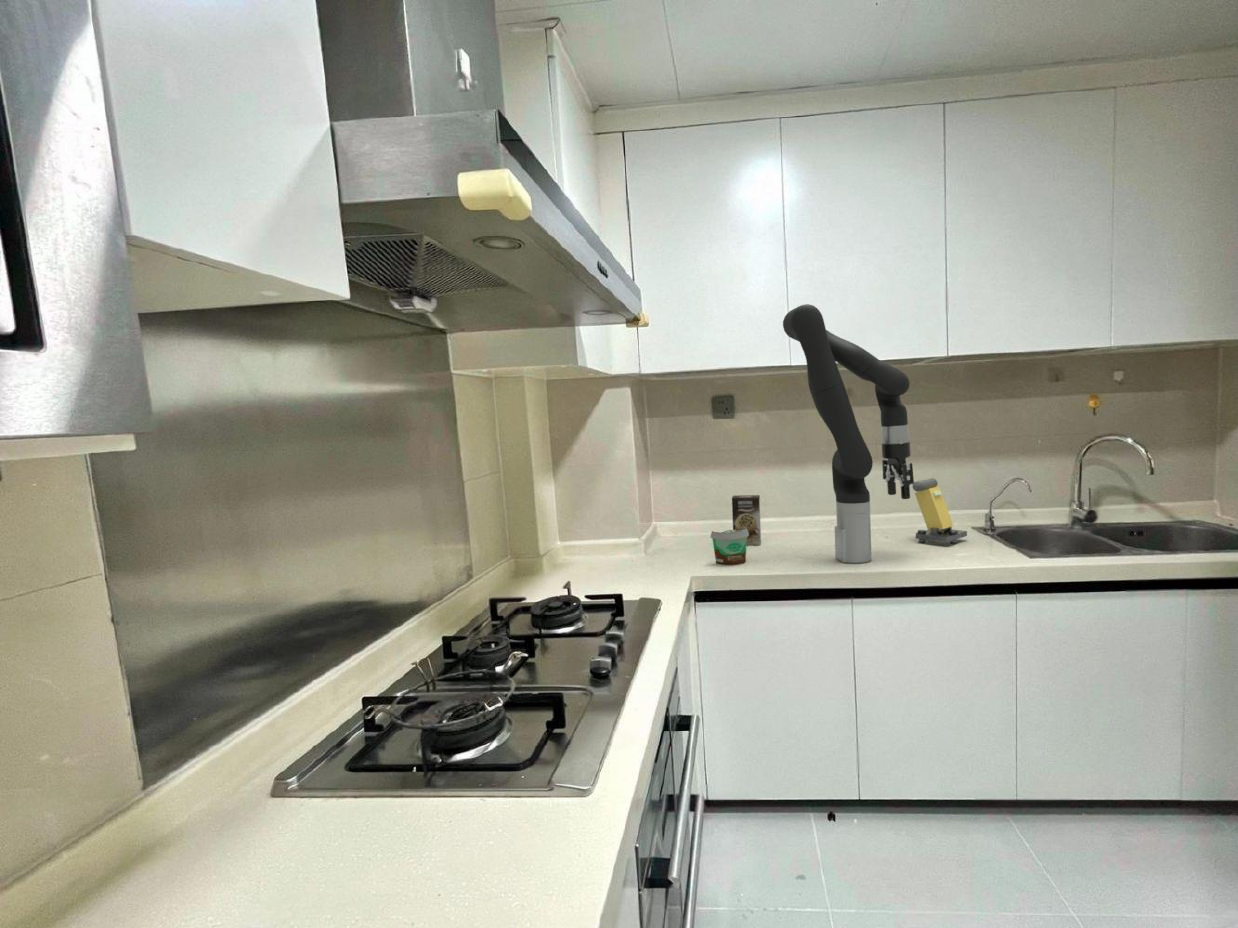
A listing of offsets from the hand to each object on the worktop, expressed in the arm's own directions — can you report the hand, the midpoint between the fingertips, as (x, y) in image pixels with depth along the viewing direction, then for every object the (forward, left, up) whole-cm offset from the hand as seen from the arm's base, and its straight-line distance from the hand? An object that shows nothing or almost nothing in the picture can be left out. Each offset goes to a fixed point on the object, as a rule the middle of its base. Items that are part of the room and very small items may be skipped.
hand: (898, 496), depth 192 cm
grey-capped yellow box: (+19, +14, -14) cm, 27 cm away
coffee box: (-39, +29, -18) cm, 52 cm away
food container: (-48, +4, -18) cm, 51 cm away
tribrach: (+19, +14, -18) cm, 30 cm away
